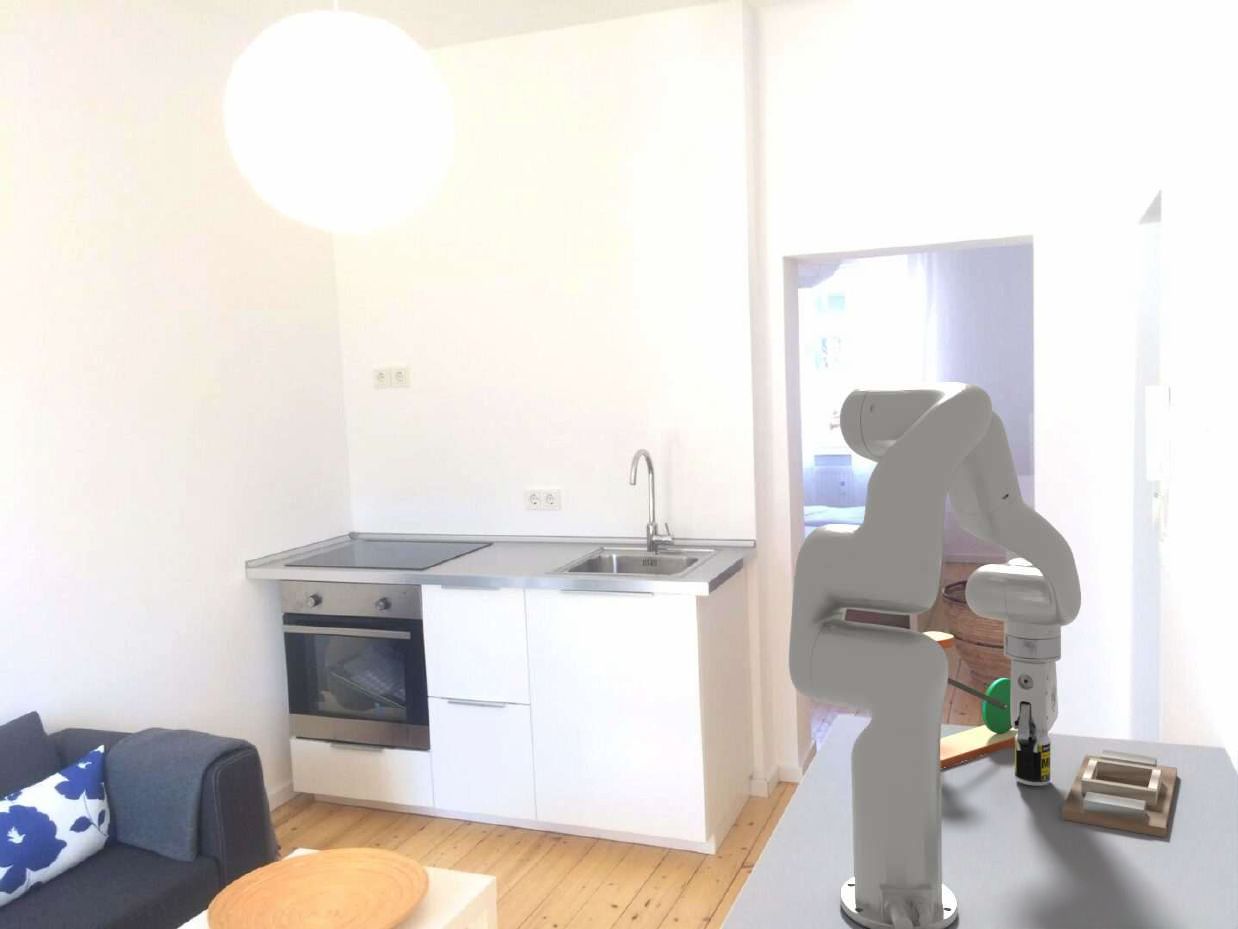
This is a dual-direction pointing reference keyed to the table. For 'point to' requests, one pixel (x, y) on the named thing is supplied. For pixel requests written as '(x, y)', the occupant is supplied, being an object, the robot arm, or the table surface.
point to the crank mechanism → (994, 715)
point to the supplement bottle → (1045, 760)
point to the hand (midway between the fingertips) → (1032, 770)
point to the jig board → (1122, 793)
